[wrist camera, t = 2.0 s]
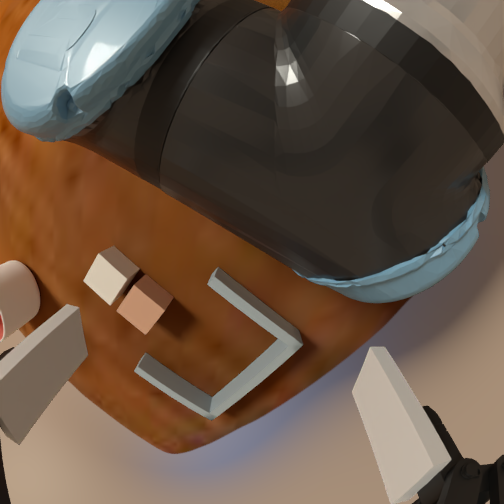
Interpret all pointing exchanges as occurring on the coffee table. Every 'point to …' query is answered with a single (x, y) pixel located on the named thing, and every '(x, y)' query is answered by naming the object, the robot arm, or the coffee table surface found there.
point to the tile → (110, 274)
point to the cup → (16, 297)
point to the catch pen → (246, 379)
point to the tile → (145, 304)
